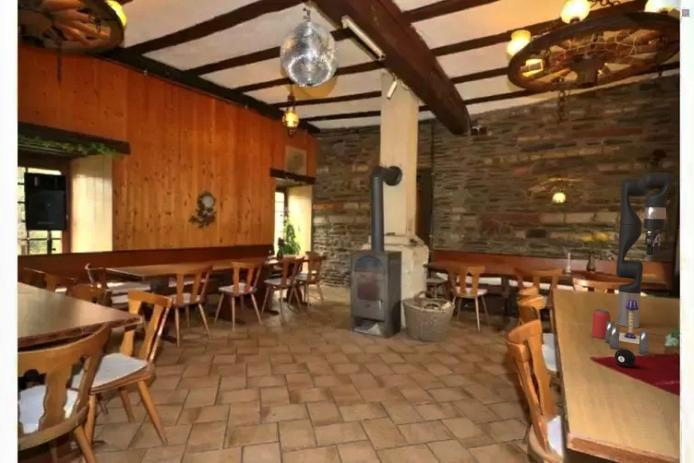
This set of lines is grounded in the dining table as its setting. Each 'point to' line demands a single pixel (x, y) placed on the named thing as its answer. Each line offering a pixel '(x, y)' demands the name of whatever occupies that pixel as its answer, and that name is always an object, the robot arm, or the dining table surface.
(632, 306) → the toy lamp
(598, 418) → the dining table surface
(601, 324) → the beer can
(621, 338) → the ceramic tile
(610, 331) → the spacer posts
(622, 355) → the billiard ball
